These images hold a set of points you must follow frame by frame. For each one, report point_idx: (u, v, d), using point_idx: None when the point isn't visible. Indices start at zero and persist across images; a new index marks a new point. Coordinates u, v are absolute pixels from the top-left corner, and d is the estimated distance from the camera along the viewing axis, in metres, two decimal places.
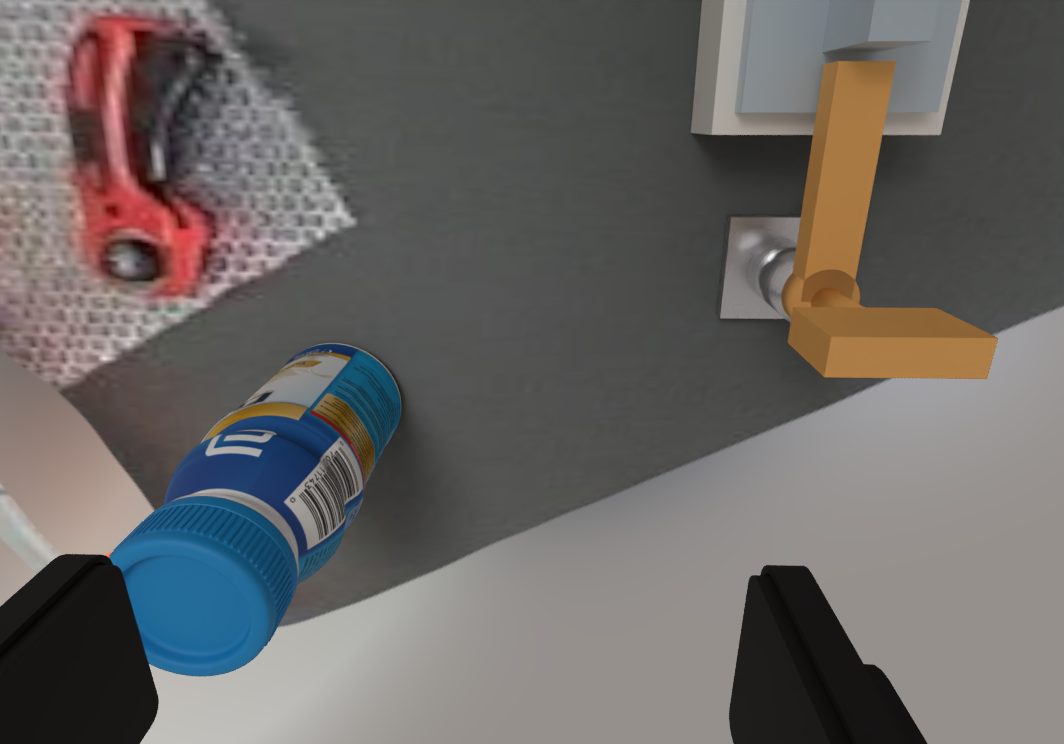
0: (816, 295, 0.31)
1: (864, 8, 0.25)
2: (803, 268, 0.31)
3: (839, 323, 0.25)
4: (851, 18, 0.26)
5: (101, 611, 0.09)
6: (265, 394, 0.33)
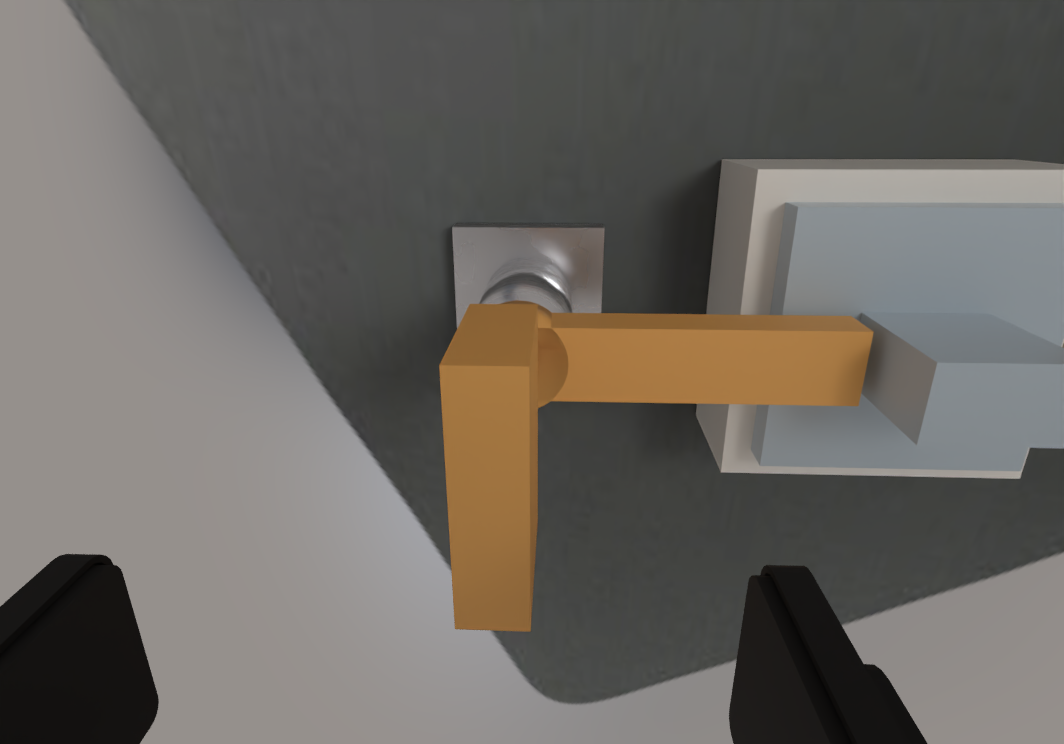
0: None
1: (967, 352, 0.17)
2: (567, 325, 0.20)
3: (533, 380, 0.13)
4: (938, 339, 0.18)
5: (101, 611, 0.09)
6: None
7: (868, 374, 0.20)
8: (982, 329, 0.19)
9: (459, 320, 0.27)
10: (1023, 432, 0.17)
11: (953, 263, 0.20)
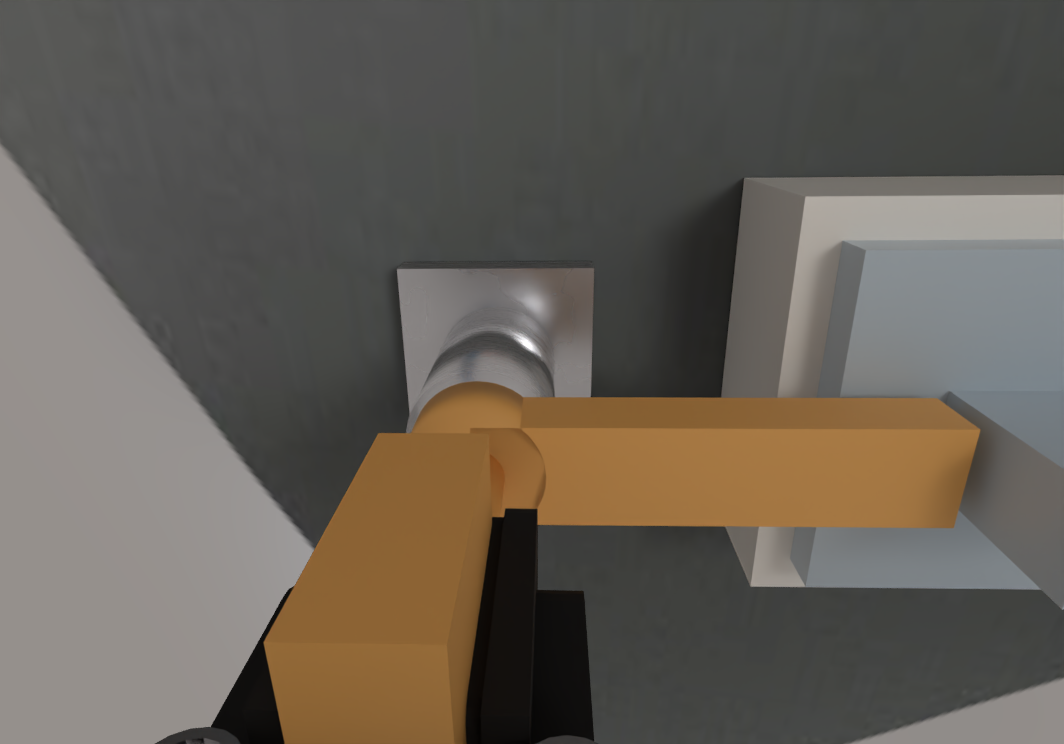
0: None
1: None
2: (544, 421, 0.14)
3: (473, 599, 0.07)
4: None
5: None
6: None
7: None
8: None
9: (410, 385, 0.21)
10: None
11: None
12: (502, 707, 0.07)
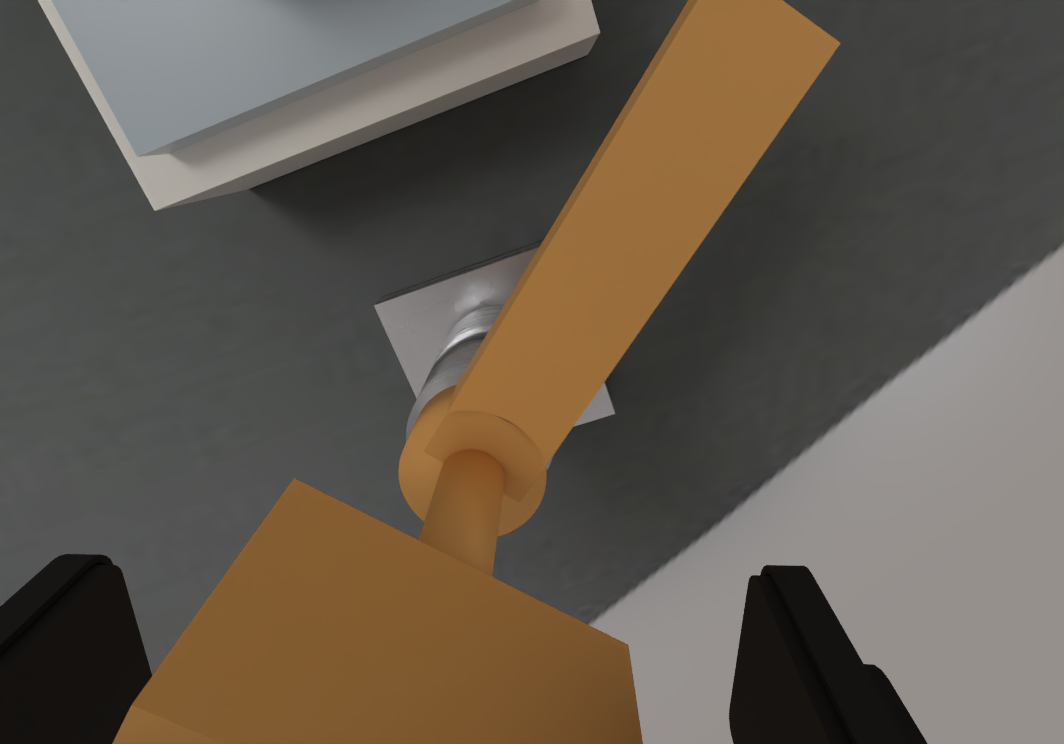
0: (455, 456, 0.13)
1: None
2: (460, 388, 0.14)
3: (296, 617, 0.08)
4: None
5: (101, 611, 0.09)
6: None
7: None
8: None
9: None
10: None
11: None
12: None
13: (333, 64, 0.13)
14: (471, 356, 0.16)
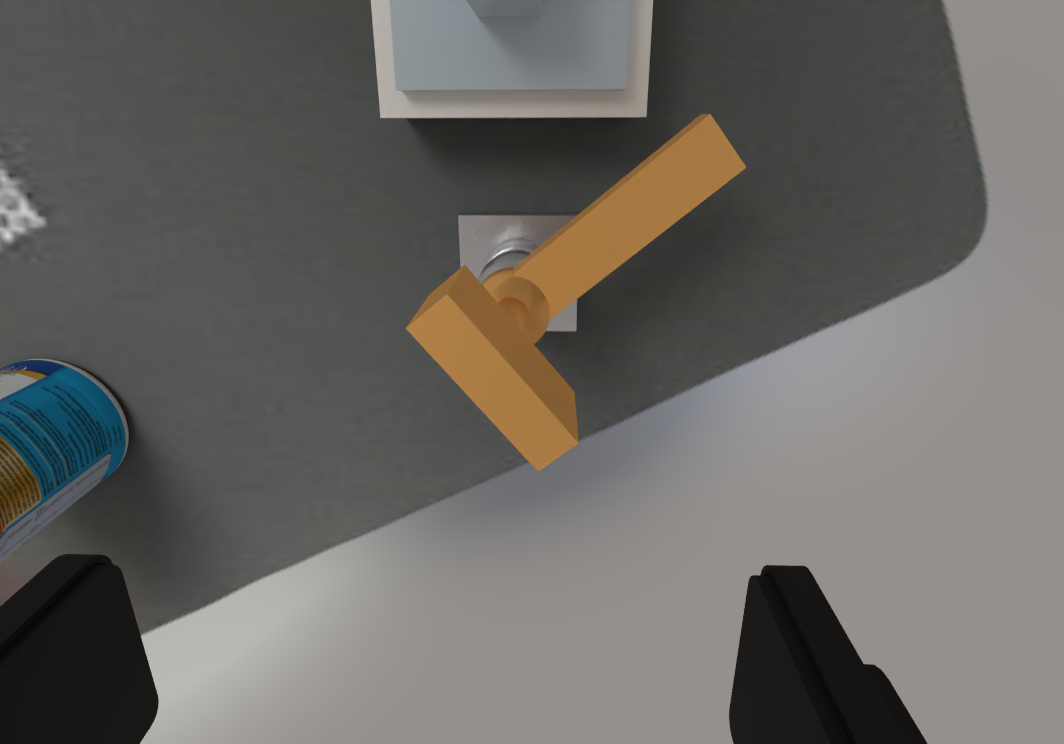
0: (508, 298, 0.26)
1: None
2: (521, 266, 0.26)
3: (476, 304, 0.20)
4: None
5: (101, 611, 0.09)
6: None
7: (520, 11, 0.23)
8: None
9: None
10: None
11: None
12: None
13: (515, 84, 0.25)
14: (521, 257, 0.28)
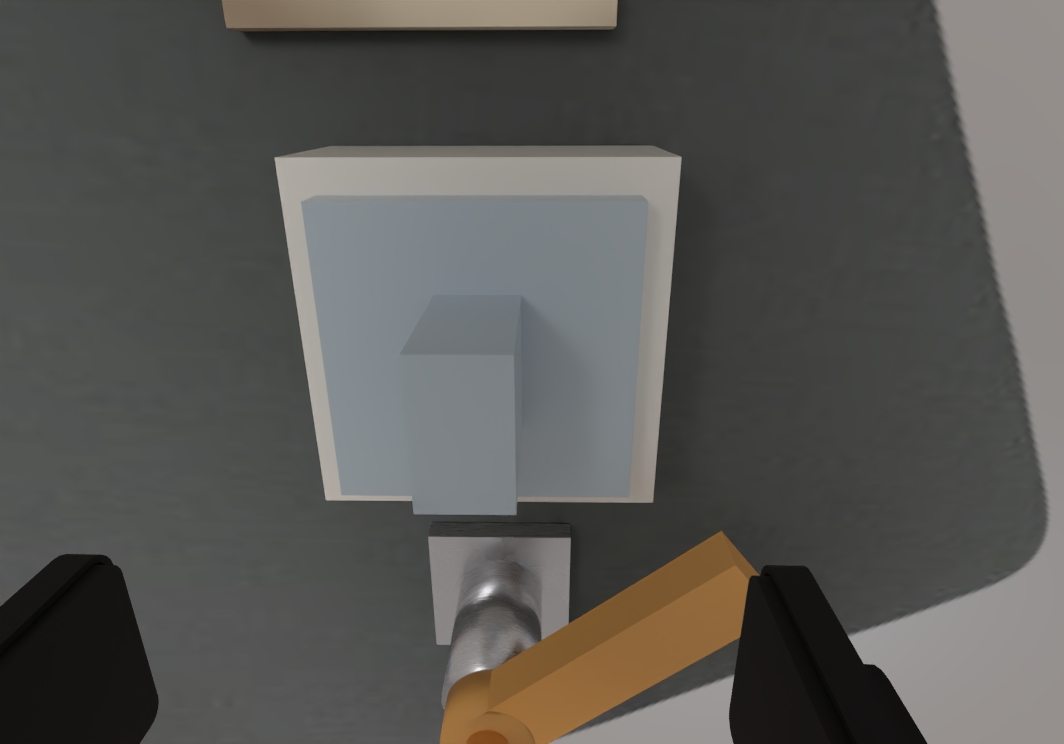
0: (483, 736, 0.21)
1: None
2: (500, 695, 0.21)
3: None
4: None
5: (101, 611, 0.09)
6: None
7: None
8: None
9: None
10: (493, 412, 0.14)
11: (380, 346, 0.18)
12: None
13: None
14: (501, 641, 0.23)
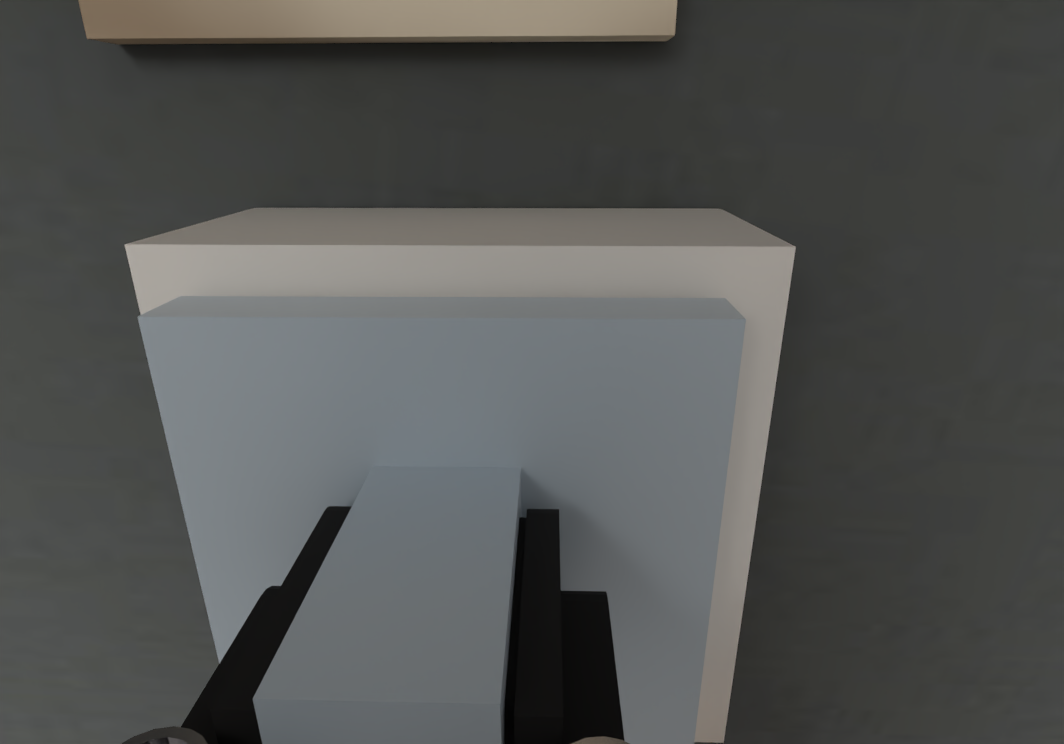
0: None
1: None
2: None
3: None
4: None
5: None
6: None
7: None
8: None
9: None
10: None
11: (287, 543, 0.11)
12: (535, 708, 0.07)
13: None
14: None
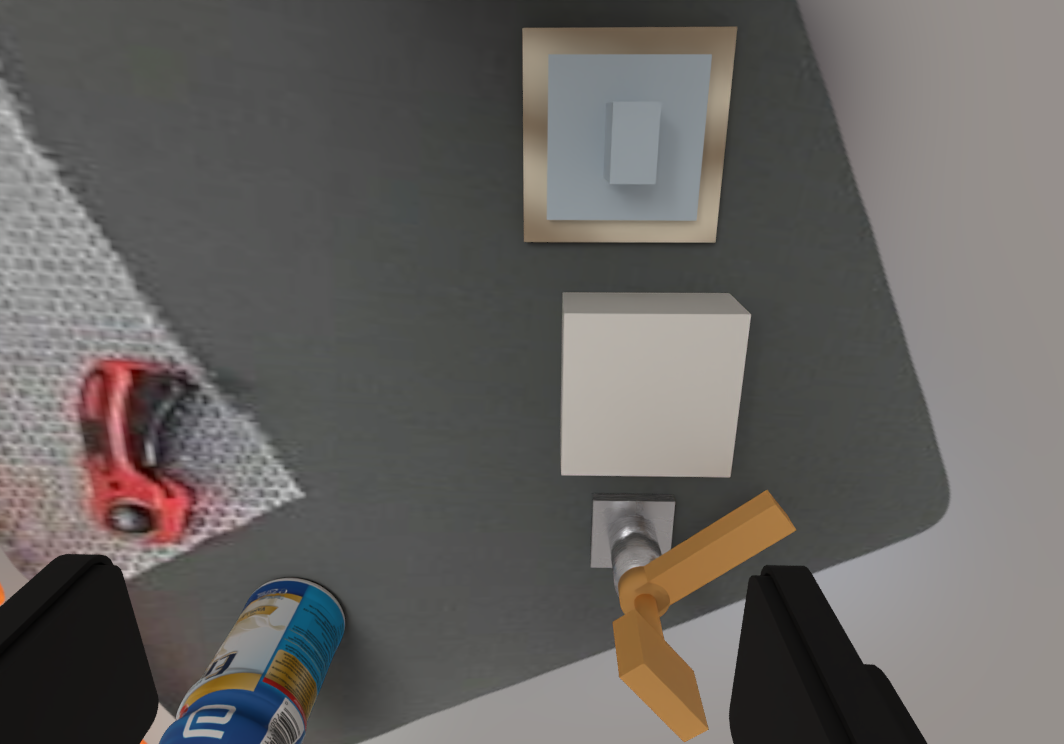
0: (644, 595, 0.41)
1: (609, 158, 0.34)
2: (653, 575, 0.41)
3: (650, 649, 0.35)
4: (607, 161, 0.35)
5: (101, 611, 0.09)
6: (230, 656, 0.44)
7: None
8: (607, 126, 0.35)
9: None
10: (650, 129, 0.33)
11: (576, 132, 0.37)
12: None
13: (625, 217, 0.39)
14: (646, 552, 0.44)
